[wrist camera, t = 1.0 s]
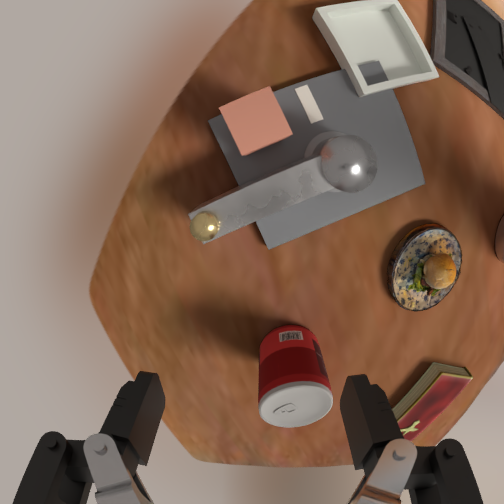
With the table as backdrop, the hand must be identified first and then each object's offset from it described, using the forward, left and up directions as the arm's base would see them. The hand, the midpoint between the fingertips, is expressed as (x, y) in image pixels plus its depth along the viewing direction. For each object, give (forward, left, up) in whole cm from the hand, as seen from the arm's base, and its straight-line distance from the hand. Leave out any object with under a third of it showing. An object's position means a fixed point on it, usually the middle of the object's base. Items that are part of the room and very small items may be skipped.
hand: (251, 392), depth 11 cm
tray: (-22, -16, -21) cm, 34 cm away
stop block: (-5, -11, -20) cm, 24 cm away
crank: (-5, -5, -20) cm, 21 cm away
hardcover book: (-16, +43, -22) cm, 51 cm away
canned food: (+2, +15, -22) cm, 27 cm away
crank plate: (-11, -6, -21) cm, 25 cm away
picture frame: (-42, -16, -22) cm, 50 cm away
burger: (-19, +12, -22) cm, 31 cm away
